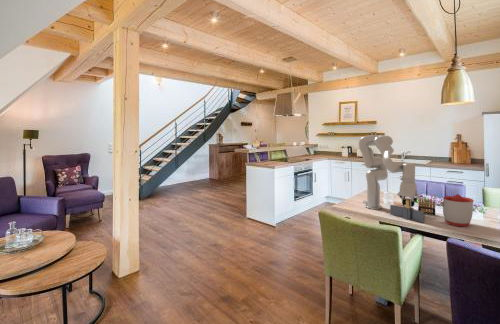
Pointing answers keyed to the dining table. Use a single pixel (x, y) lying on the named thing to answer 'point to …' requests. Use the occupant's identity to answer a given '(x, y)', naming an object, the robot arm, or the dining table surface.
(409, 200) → the hinge pin
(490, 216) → the dining table surface
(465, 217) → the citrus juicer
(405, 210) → the hinge
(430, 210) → the ammunition clip
